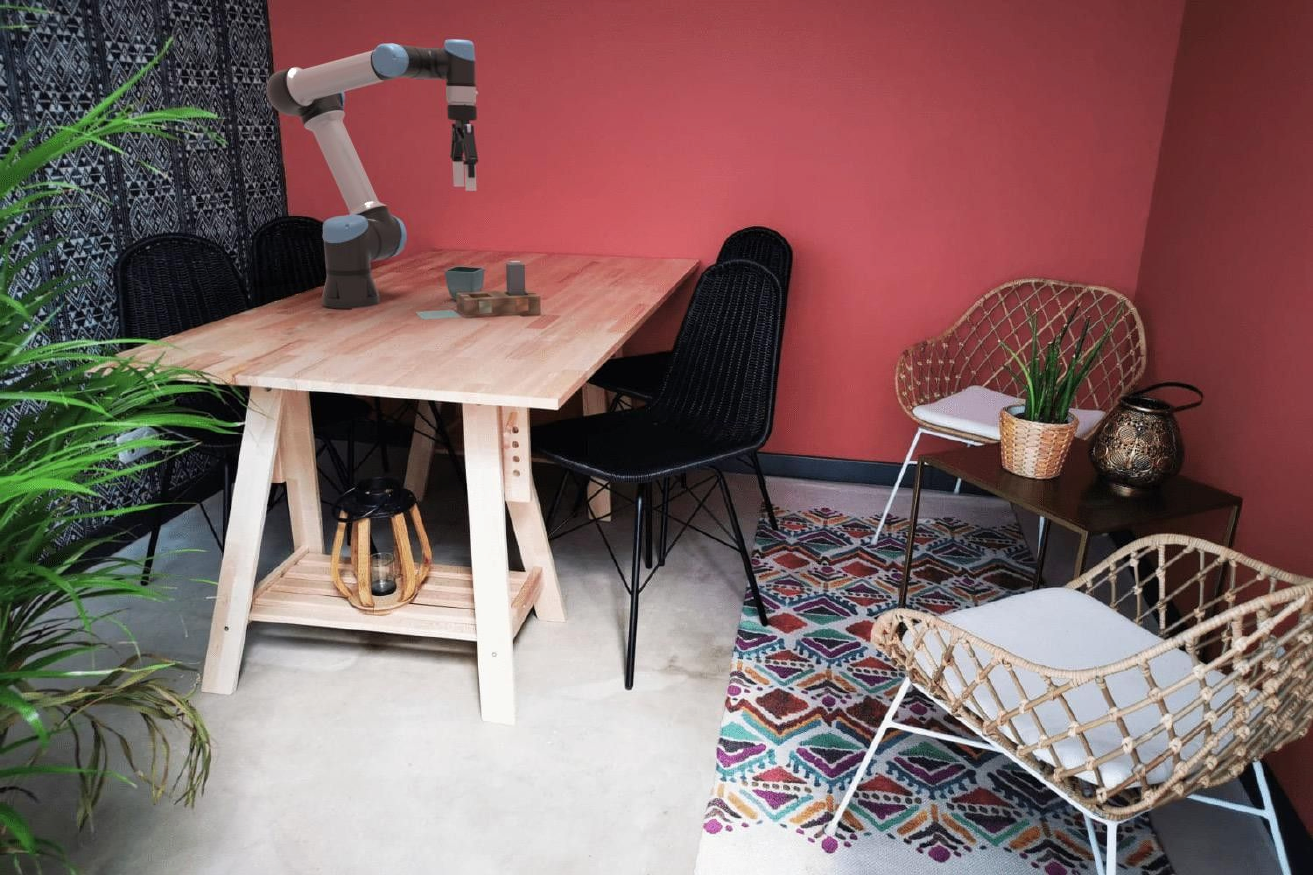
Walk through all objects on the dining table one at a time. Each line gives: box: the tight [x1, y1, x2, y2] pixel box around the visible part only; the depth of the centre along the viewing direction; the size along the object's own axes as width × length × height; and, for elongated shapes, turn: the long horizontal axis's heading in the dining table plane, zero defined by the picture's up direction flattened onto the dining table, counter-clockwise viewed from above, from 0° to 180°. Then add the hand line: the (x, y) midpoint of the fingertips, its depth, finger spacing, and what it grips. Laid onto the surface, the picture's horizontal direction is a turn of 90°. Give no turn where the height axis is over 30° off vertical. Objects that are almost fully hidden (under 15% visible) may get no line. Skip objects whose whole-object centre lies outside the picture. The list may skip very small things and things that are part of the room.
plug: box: [505, 260, 526, 296], centre depth 252 cm, size 4×4×13 cm
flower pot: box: [444, 265, 486, 301], centre depth 267 cm, size 9×9×9 cm
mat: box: [415, 309, 462, 321], centre depth 247 cm, size 10×10×1 cm
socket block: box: [455, 288, 542, 319], centre depth 252 cm, size 20×11×5 cm, turn 114°
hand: (464, 188), depth 251 cm, fingers open, 13 cm apart
